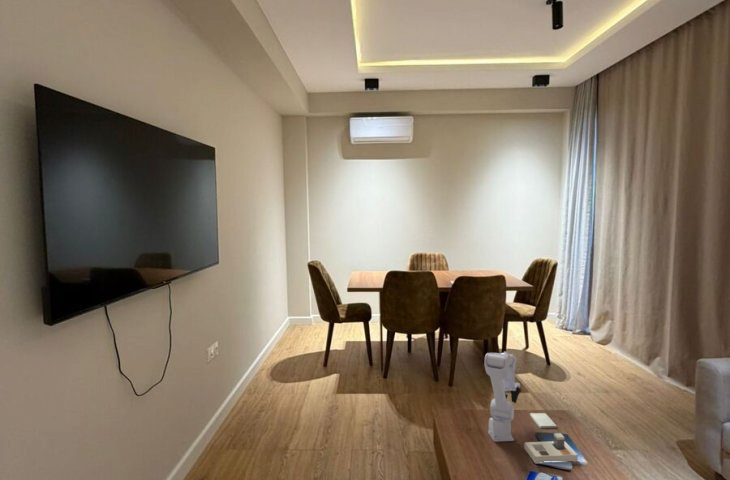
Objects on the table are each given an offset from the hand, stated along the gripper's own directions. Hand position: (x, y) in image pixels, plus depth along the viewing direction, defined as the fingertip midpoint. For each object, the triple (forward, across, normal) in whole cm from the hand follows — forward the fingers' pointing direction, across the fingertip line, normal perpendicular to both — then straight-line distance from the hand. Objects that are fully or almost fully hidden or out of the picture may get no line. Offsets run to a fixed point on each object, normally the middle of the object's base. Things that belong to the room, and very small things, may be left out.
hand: (508, 404), depth 188 cm
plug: (+9, -1, -28) cm, 30 cm away
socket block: (+9, -6, -27) cm, 29 cm away
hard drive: (+10, +15, -8) cm, 20 cm away
